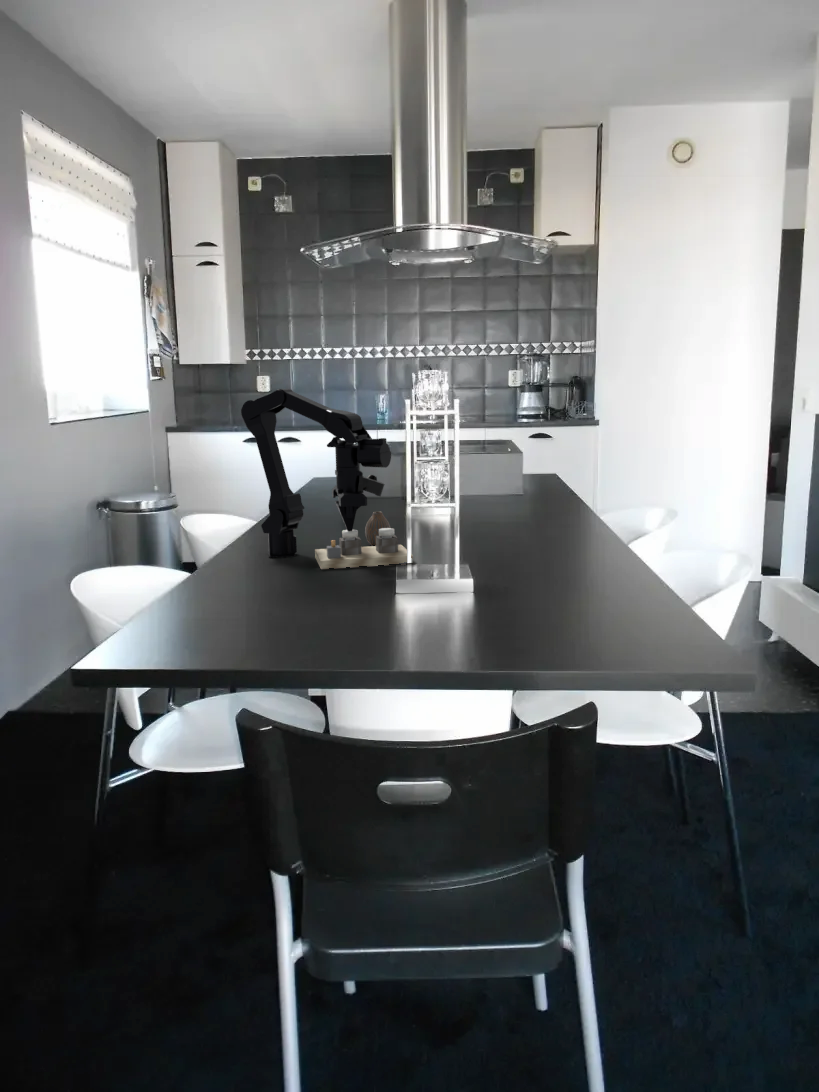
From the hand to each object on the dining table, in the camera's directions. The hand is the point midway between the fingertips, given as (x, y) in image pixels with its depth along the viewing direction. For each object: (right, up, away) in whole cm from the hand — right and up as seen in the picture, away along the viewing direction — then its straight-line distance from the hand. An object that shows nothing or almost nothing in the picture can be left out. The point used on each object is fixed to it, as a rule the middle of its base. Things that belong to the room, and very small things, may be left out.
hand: (349, 530), depth 200 cm
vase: (+6, -3, +22) cm, 23 cm away
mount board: (+3, -7, +2) cm, 8 cm away
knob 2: (+9, -4, +3) cm, 10 cm away
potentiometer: (-4, -6, -3) cm, 8 cm away
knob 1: (0, -5, +1) cm, 5 cm away
